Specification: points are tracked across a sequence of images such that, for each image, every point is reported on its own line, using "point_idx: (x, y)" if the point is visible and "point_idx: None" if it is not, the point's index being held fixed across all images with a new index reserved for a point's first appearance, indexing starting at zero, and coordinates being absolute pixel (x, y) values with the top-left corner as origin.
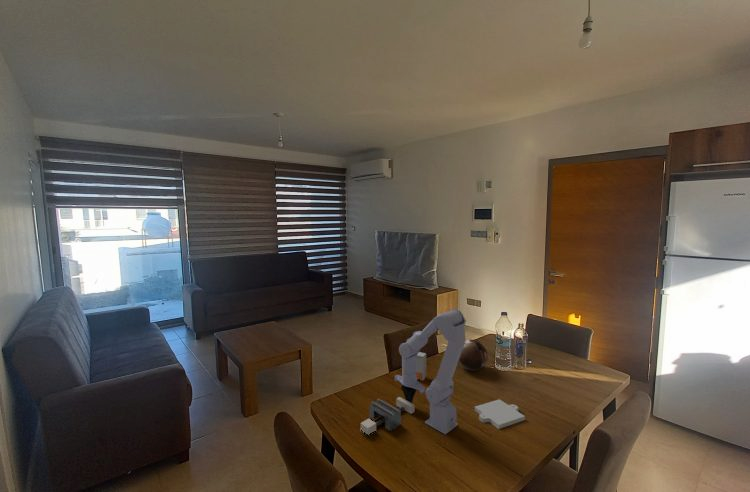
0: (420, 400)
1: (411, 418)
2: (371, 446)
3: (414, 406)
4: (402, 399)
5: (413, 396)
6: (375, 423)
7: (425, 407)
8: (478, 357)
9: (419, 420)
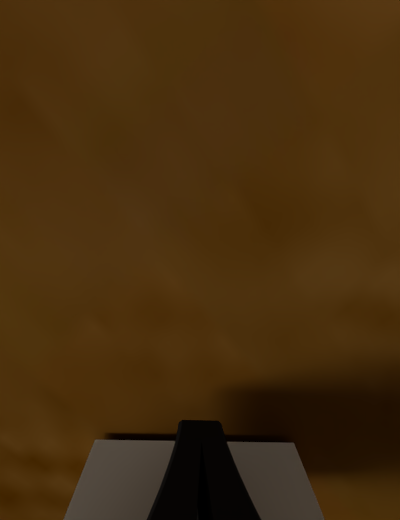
0: (209, 229)
1: None
2: None
3: (318, 504)
4: None
5: (251, 507)
6: None
7: (333, 304)
8: None
9: (384, 482)
